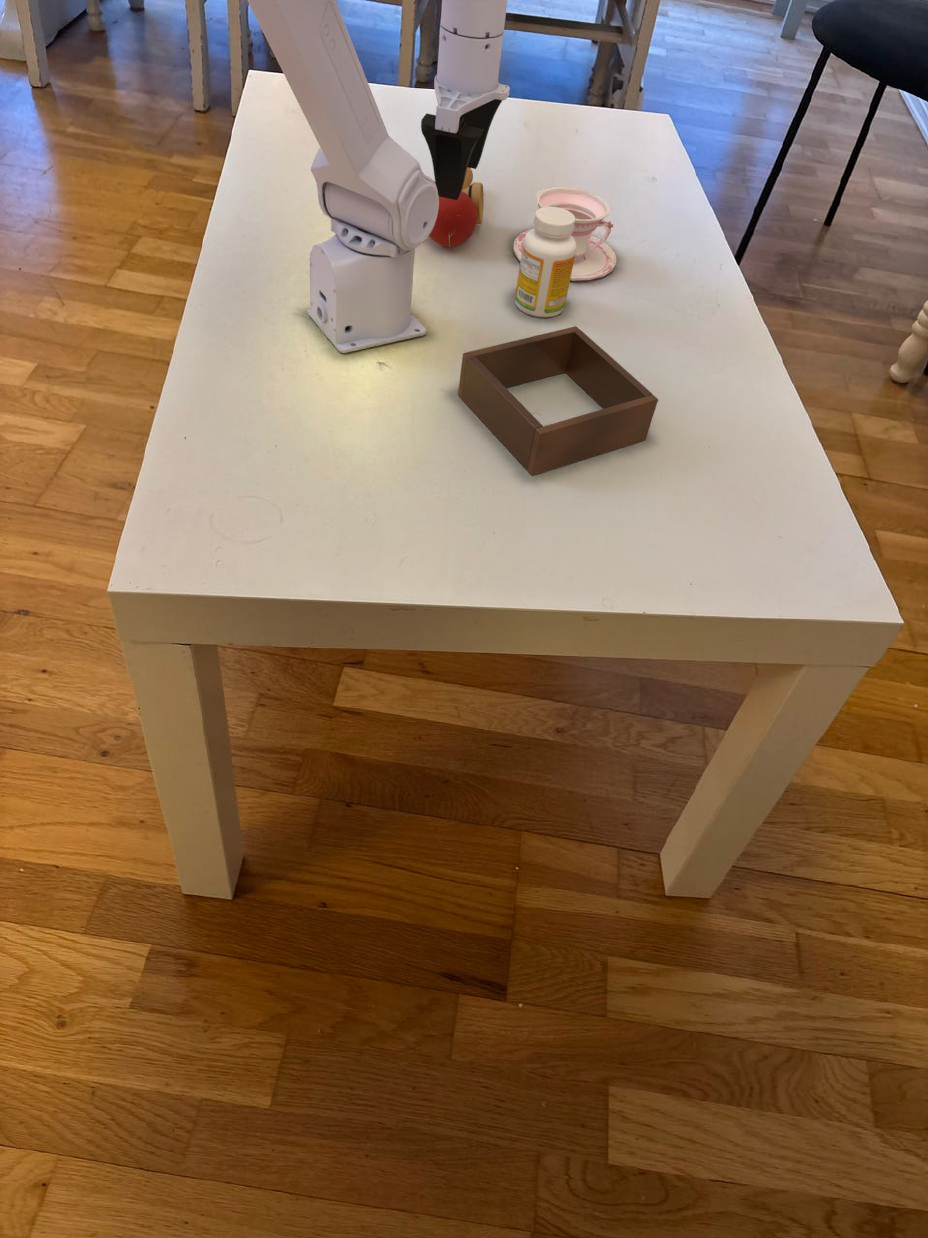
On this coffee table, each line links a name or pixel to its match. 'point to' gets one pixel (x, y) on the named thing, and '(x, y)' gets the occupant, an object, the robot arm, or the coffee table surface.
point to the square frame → (564, 440)
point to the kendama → (459, 214)
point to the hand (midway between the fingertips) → (457, 180)
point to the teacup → (580, 230)
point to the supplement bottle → (546, 263)
